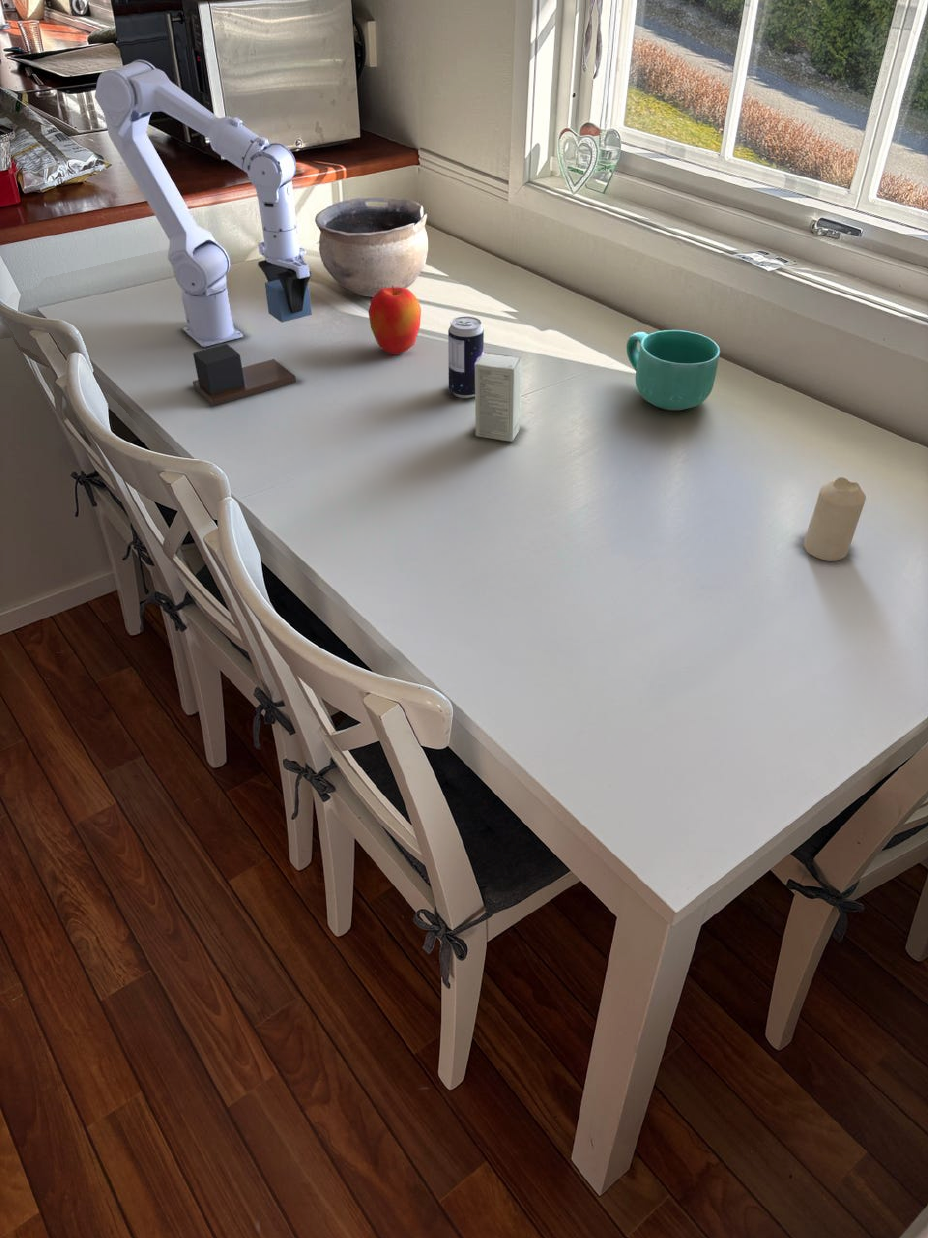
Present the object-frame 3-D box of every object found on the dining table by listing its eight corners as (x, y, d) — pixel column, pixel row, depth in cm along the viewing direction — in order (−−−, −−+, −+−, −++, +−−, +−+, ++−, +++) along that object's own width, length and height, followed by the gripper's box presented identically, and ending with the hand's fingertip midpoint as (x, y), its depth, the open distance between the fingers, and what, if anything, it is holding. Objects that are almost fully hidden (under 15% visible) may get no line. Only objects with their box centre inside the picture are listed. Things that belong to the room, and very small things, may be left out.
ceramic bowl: (426, 311, 179) (424, 232, 169) (315, 310, 179) (306, 231, 170) (431, 270, 196) (429, 195, 186) (329, 269, 196) (322, 194, 186)
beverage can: (479, 401, 151) (480, 331, 144) (445, 398, 152) (444, 328, 144) (485, 385, 156) (486, 316, 148) (452, 382, 156) (452, 313, 149)
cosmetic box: (520, 429, 144) (523, 356, 136) (512, 443, 141) (515, 369, 133) (482, 423, 146) (483, 350, 138) (473, 436, 143) (474, 362, 135)
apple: (391, 367, 161) (388, 299, 153) (360, 350, 166) (355, 283, 158) (432, 351, 166) (431, 285, 158) (401, 336, 171) (398, 270, 163)
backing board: (193, 387, 155) (192, 381, 154) (274, 365, 161) (273, 358, 161) (213, 406, 150) (212, 399, 149) (295, 382, 156) (295, 375, 156)
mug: (726, 406, 150) (737, 351, 144) (669, 426, 145) (678, 370, 139) (657, 368, 161) (664, 315, 155) (601, 386, 156) (607, 332, 149)
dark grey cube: (198, 383, 153) (192, 352, 150) (232, 374, 156) (226, 343, 152) (211, 395, 150) (205, 363, 147) (245, 385, 153) (239, 354, 149)
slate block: (281, 322, 160) (277, 291, 157) (268, 313, 164) (264, 282, 160) (312, 314, 163) (308, 283, 160) (298, 305, 166) (294, 275, 163)
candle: (797, 537, 123) (816, 472, 116) (837, 535, 123) (858, 471, 117) (812, 562, 119) (833, 497, 112) (854, 560, 119) (877, 495, 112)
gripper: (321, 233, 151) (329, 314, 160) (280, 210, 160) (289, 288, 169) (283, 242, 148) (293, 324, 157) (243, 218, 157) (254, 297, 165)
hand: (289, 306), depth 162 cm, fingers closed on slate block, 5 cm apart
